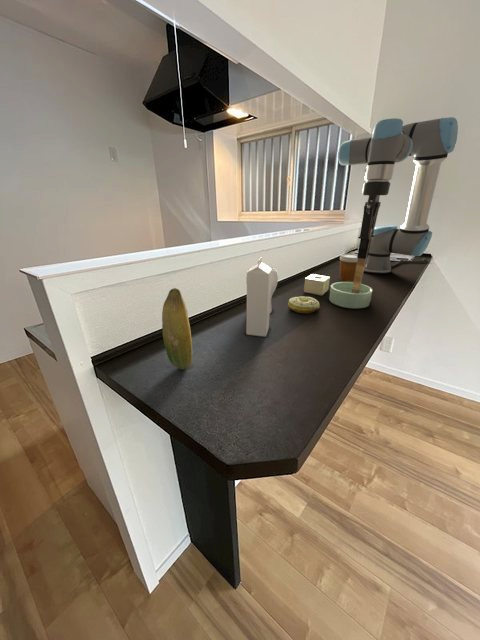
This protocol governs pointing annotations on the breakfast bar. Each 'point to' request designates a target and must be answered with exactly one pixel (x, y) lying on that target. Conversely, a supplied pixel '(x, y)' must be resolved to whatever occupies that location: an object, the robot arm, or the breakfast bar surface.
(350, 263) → the disposable coffee cup
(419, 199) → the robot arm
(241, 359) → the breakfast bar surface
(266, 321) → the milk
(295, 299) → the decorated donut
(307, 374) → the breakfast bar surface
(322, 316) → the breakfast bar surface
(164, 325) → the vegetable
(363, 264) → the stirring stick
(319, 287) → the stand
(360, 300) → the bowl
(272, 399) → the breakfast bar surface
